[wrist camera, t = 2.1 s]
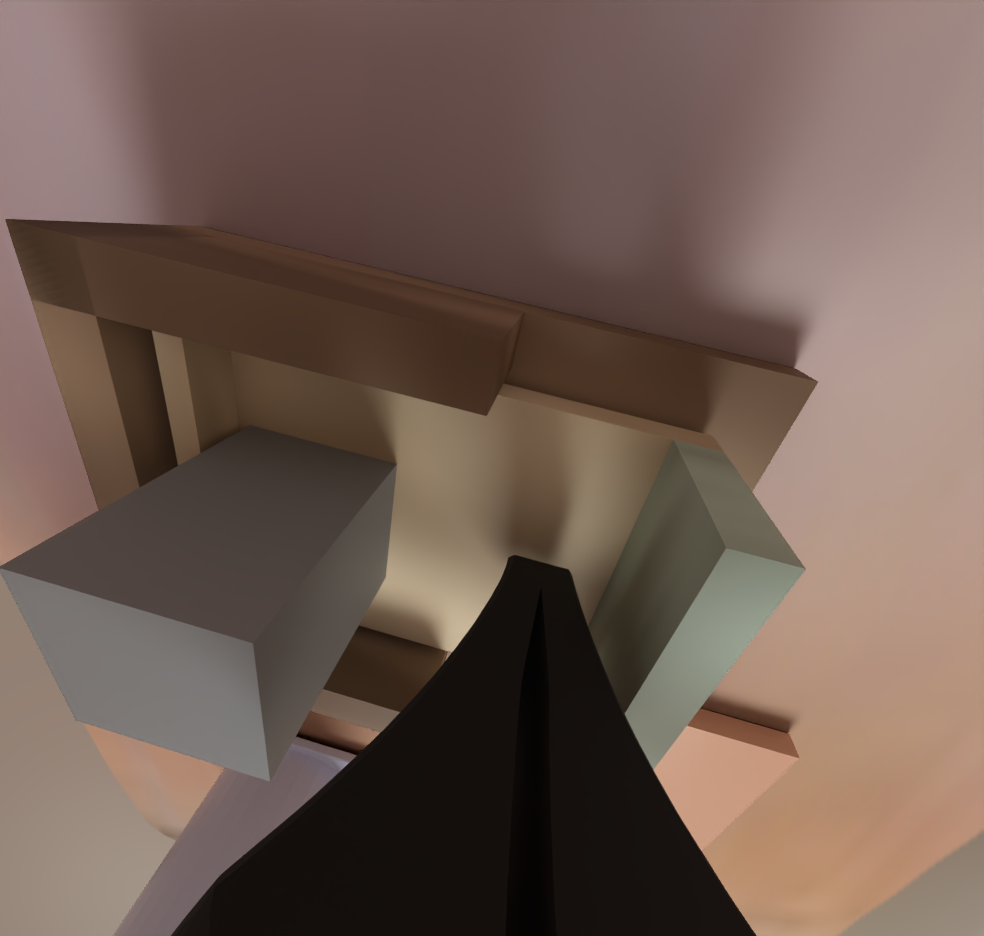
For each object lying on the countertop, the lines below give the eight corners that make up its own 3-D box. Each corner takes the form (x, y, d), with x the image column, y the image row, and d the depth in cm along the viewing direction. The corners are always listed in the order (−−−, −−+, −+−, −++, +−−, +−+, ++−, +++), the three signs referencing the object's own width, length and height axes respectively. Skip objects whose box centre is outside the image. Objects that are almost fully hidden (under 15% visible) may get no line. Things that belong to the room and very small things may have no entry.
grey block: (385, 577, 12) (270, 781, 7) (261, 542, 12) (75, 720, 7) (397, 464, 10) (252, 643, 5) (250, 425, 10) (-3, 567, 6)
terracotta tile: (690, 833, 19) (695, 856, 18) (512, 779, 19) (509, 799, 18) (789, 734, 15) (799, 758, 14) (561, 668, 15) (561, 689, 14)
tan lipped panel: (594, 669, 13) (601, 838, 9) (255, 572, 14) (137, 694, 10) (712, 436, 9) (805, 568, 5) (227, 314, 10) (15, 358, 6)
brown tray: (622, 675, 15) (636, 810, 11) (244, 567, 16) (147, 661, 12) (795, 368, 9) (925, 444, 6) (201, 226, 10) (4, 219, 7)
